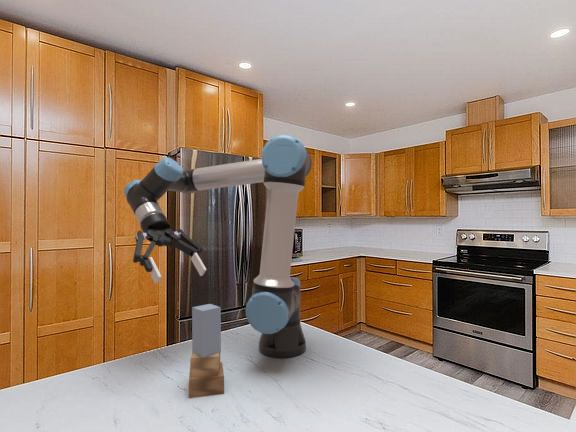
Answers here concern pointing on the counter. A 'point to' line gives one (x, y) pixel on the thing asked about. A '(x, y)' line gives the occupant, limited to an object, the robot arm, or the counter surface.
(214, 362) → the tower top
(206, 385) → the tower base
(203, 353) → the slate block
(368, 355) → the counter surface
